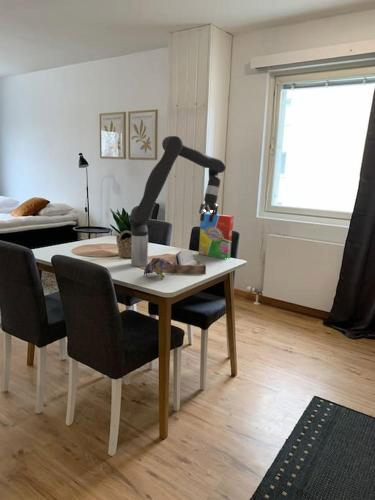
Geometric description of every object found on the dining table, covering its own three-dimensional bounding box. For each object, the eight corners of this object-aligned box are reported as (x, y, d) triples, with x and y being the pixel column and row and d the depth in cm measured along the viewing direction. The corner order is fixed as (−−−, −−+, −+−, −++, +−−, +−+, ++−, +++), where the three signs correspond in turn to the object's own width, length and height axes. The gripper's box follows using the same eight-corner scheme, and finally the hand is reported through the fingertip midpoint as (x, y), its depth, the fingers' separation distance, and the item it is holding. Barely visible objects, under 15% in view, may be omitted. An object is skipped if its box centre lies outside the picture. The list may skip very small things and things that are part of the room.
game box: (198, 254, 243) (200, 213, 237) (202, 252, 248) (204, 212, 242) (227, 259, 233) (230, 216, 227) (230, 257, 238) (233, 215, 232)
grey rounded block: (184, 269, 205) (179, 252, 205) (177, 271, 208) (172, 253, 207) (197, 263, 220) (192, 247, 219) (190, 264, 222) (186, 248, 222)
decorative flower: (164, 254, 196) (169, 252, 182) (171, 275, 196) (177, 275, 182) (138, 263, 193) (141, 261, 178) (145, 284, 193) (149, 284, 178)
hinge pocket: (174, 273, 197) (174, 265, 196) (173, 269, 204) (173, 261, 203) (205, 273, 199) (206, 265, 198) (203, 270, 206) (204, 262, 205)
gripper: (199, 192, 222) (193, 219, 222) (214, 192, 210) (208, 220, 210) (209, 196, 226) (203, 222, 226) (224, 196, 214) (218, 223, 215)
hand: (205, 221), depth 218 cm, fingers open, 8 cm apart
